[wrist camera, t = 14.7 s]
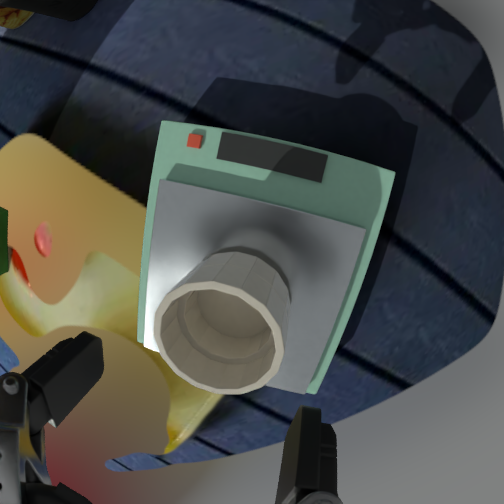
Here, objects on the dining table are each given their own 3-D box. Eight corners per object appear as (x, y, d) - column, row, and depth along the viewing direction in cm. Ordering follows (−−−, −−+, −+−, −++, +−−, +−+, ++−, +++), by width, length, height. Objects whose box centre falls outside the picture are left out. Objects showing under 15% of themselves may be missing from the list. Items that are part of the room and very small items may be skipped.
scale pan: (364, 226, 17) (366, 229, 16) (304, 387, 20) (304, 394, 19) (165, 177, 18) (159, 178, 17) (148, 341, 21) (143, 346, 21)
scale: (383, 170, 18) (397, 172, 15) (316, 370, 23) (315, 397, 20) (180, 124, 20) (159, 119, 16) (153, 323, 25) (135, 343, 21)
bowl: (303, 264, 17) (301, 304, 12) (275, 353, 19) (265, 407, 14) (197, 237, 18) (158, 264, 13) (184, 326, 19) (151, 371, 15)
